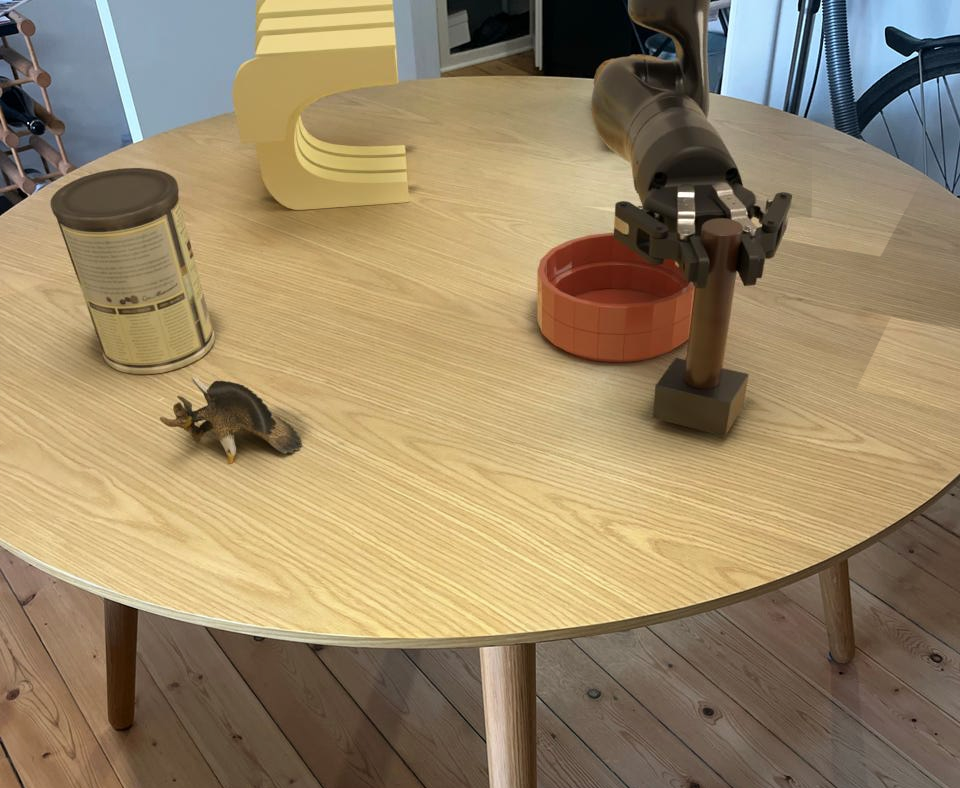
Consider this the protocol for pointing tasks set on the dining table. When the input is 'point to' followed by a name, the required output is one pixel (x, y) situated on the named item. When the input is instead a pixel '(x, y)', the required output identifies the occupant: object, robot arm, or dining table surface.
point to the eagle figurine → (233, 417)
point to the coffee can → (135, 268)
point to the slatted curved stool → (306, 78)
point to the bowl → (611, 301)
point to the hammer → (707, 345)
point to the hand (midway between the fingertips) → (728, 273)
